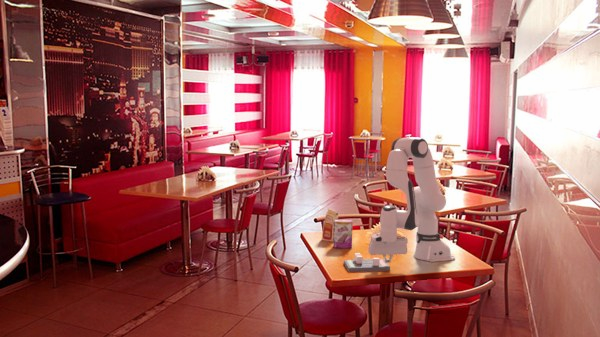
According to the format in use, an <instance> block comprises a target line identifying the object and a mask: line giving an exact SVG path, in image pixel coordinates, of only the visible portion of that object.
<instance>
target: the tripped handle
mask: <svg viewBox="0 0 600 337" xmlns="http://www.w3.org/2000/svg"><path fill="white" fill-rule="evenodd" d="M372 259H373V265H374V266H379V261H380V259H381V258H379V257H372Z"/></svg>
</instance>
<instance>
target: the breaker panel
mask: <svg viewBox="0 0 600 337" xmlns="http://www.w3.org/2000/svg"><path fill="white" fill-rule="evenodd" d="M379 259H380V261H379V266H374V265H373V258H371V259H369V258H368V259H367V258H366V259H363V262H362V263H359V264H357V263H356V261H355V260H354V259H343V264H344V266H345V269H346V270H347V271H348V273H349V272H388V271H390V272H391V266H390V265H389V263H385V259H384V258H379Z"/></svg>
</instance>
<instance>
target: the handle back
mask: <svg viewBox="0 0 600 337" xmlns="http://www.w3.org/2000/svg"><path fill="white" fill-rule="evenodd" d="M353 254H354V256H353V257H354V258H353V260H355V261H356V256H362V254H361V253H360V252H356V253H353Z"/></svg>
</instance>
